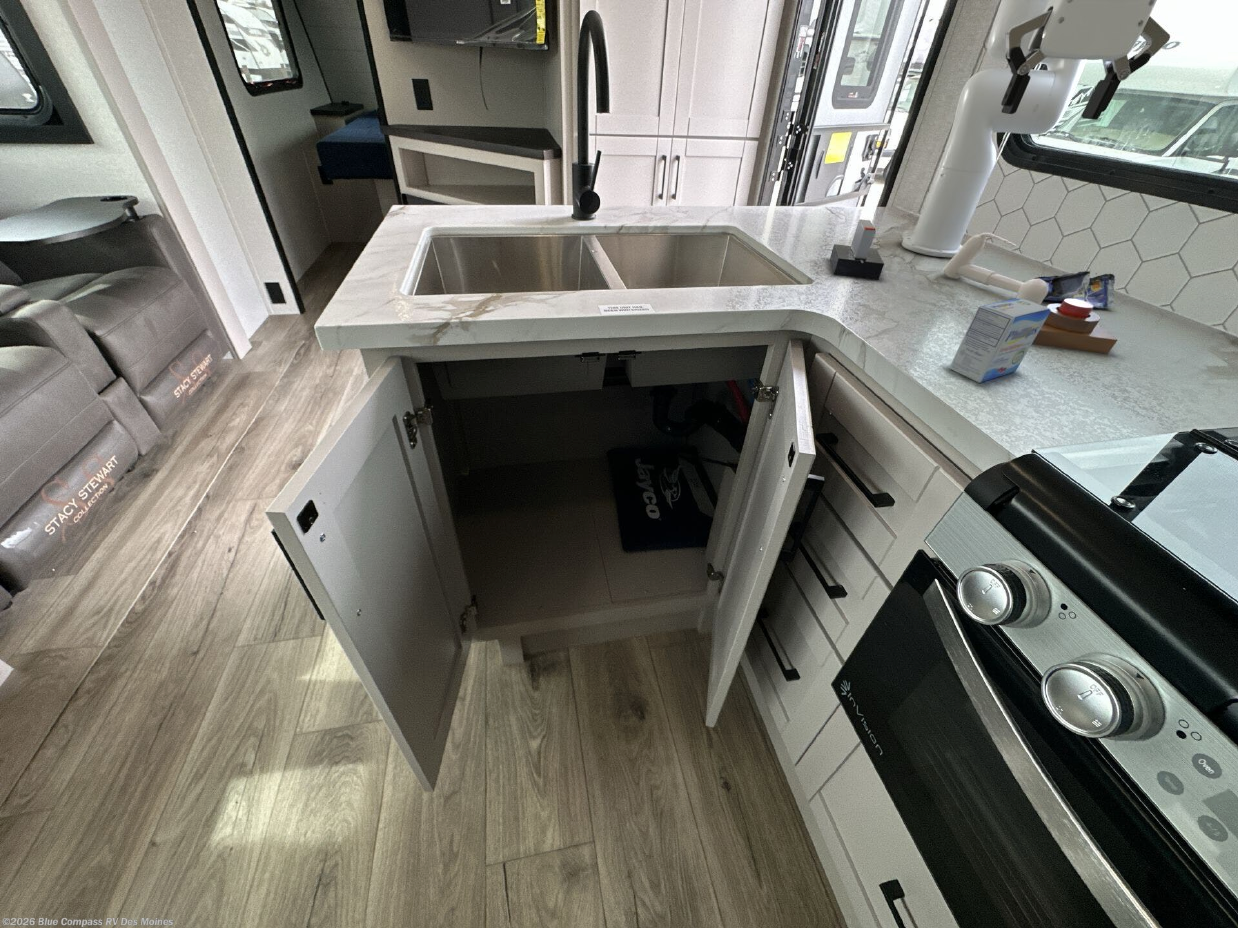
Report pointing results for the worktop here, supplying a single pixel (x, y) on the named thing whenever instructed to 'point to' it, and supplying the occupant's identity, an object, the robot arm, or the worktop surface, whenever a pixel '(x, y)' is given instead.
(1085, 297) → the snack package
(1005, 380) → the worktop surface
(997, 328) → the medicine box
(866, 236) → the grey rectangular slab
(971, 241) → the faucet
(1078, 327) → the button block
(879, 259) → the lever base
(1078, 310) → the button
